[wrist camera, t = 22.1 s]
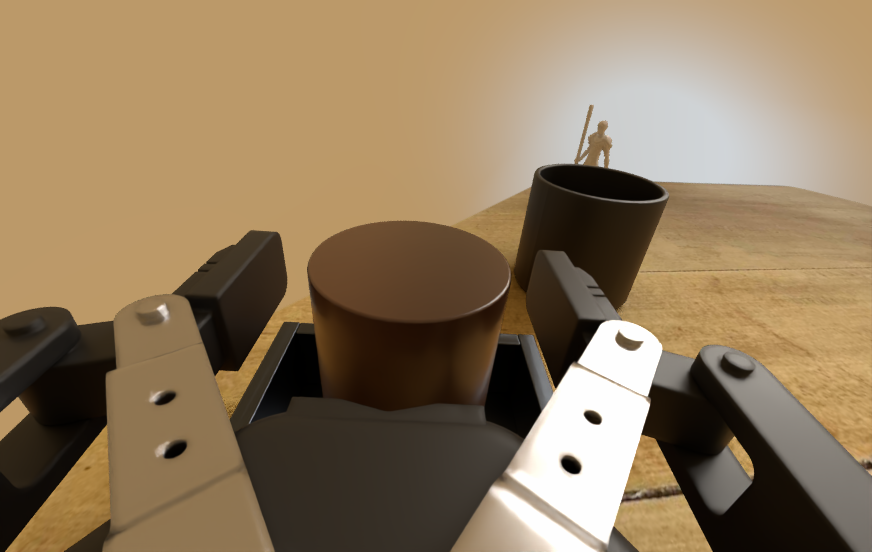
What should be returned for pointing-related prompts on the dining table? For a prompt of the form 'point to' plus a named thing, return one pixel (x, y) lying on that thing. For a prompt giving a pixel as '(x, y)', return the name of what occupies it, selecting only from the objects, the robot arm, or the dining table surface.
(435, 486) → the robot arm
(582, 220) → the mug
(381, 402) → the tall brown cylinder
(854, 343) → the dining table surface
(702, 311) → the dining table surface
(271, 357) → the open box
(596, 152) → the figurine
